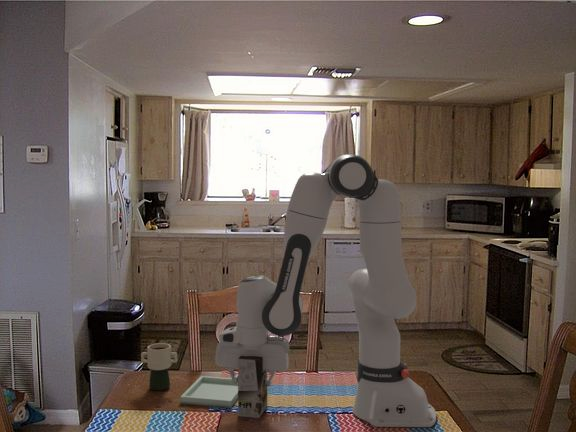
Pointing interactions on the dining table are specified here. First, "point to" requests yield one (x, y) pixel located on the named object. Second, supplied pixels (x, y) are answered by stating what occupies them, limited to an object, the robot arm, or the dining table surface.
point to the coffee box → (251, 386)
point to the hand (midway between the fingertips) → (251, 383)
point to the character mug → (159, 364)
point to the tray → (211, 392)
